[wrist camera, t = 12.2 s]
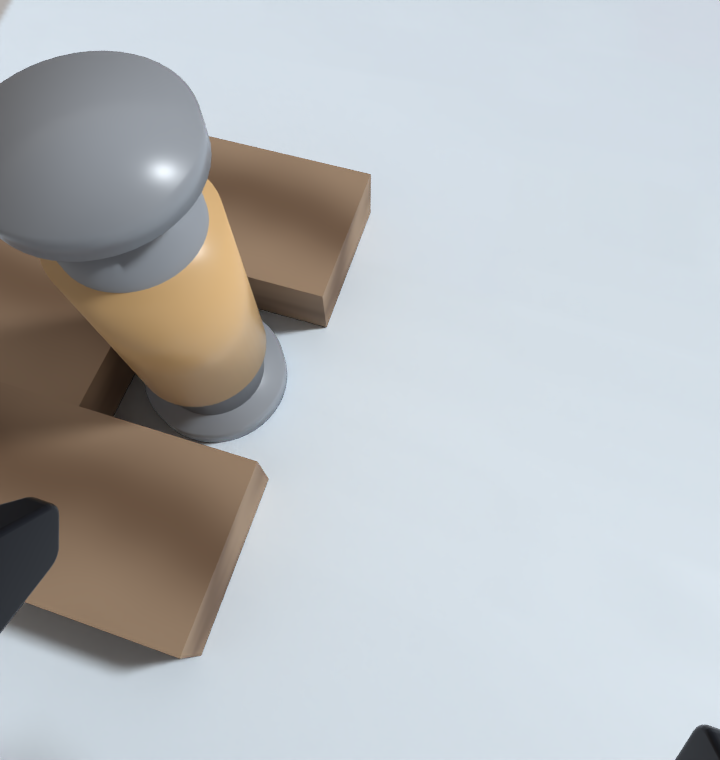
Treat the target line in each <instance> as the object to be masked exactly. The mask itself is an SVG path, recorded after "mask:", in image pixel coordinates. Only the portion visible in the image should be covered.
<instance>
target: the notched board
mask: <svg viewBox="0 0 720 760" xmlns="http://www.w3.org/2000/svg"><path fill="white" fill-rule="evenodd" d="M209 139H210V143H211V153H212V157H211V167H210V171H209V175H208V180H209V181H210V182H211V183H212V184H213V186H214V187H215V189H216V190H217V192H218V194H219V196H220V198H221V201H222V204H223V207H224V210H225V213H226V216H227V219H228V222H229V225H230V228H231V231H232V233H233V236H234V239H235V242H236V245H237V248H238V251H239V254H240V257H241V260H242V263H243V266H244V269H245V272H246V275H247V278H248V281H249V284H250V287H251V290H252V293H253V296H254V299H255V302H256V305H257V308H258V309H262V310H265V311H269V312H273V313H276V314H280V315H284V316H287V317H291V318H295V319H298V320H302V321H306V322H309V323H313V324H317V325H320V326H324V327H327V325H328V322H329V319H330V317H331V314H332V312H333V309H334V306H335V304H336V301H337V298H338V296H339V293H340V291H341V288H342V285H343V283H344V280H345V277H346V275H347V272H348V270H349V267H350V264H351V262H352V259H353V257H354V254H355V251H356V249H357V246H358V243H359V241H360V238H361V236H362V233H363V230H364V228H365V225H366V222H367V220H368V217H369V215H370V197H371V174H367V173H363V172H359V171H354V170H350V169H346V168H342V167H337V166H333V165H329V164H325V163H320V162H316V161H312V160H308V159H303V158H299V157H295V156H291V155H286V154H282V153H278V152H274V151H269V150H265V149H261V148H257V147H252V146H248V145H244V144H239V143H235V142H231V141H227V140H222V139H218V138H214V137H210V136H209ZM134 374H135V372H134V371H133V370H132V369H131V368H130V367H129V366H128V365H127V363H126V362H125V361H124V360H123V359H122V358H121V357H120V356H119V355H118V354H117V352H116V351H115V350H114V349H113V348H112V347H111V346H110V345H109V344H108V343H107V342H106V340H105V339H104V338H103V337H102V336H101V335H100V334H99V333H98V332H97V331H96V329H95V328H94V327H93V326H92V325H91V324H90V323H89V322H88V321H87V320H86V318H85V317H84V316H83V315H82V314H81V313H80V312H79V311H78V310H77V309H76V307H75V306H74V305H73V304H72V303H71V302H70V301H69V300H68V299H67V298H66V296H65V295H64V294H63V293H62V292H61V291H60V290H59V289H58V288H57V287H56V286H55V284H54V283H53V282H52V281H51V280H50V278H49V277H48V276H47V274H46V273H45V271H44V269H43V267H42V265H41V262H40V258H38V257H35V256H32V255H29V254H26V253H23V252H21V251H19V250H17V249H15V248H13V247H11V246H10V245H9V244H7V243H6V242H4V241H3V240H2V239H0V504H4V503H7V502H11V501H15V500H18V499H22V498H26V497H35V498H38V499H41V500H44V501H47V502H50V503H53V504H54V505H56V506H57V508H58V510H59V551H58V555H57V558H56V560H55V562H54V564H53V565H52V567H51V568H50V570H49V571H48V572H47V574H46V575H45V576H44V577H43V579H42V580H41V581H40V583H39V584H38V585H37V586H36V588H35V589H34V590H33V592H32V593H31V594H30V595H29V597H28V598H27V599H26V601H25V602H26V603H28V604H31V605H34V606H37V607H39V608H42V609H45V610H48V611H50V612H53V613H56V614H59V615H61V616H64V617H67V618H70V619H72V620H75V621H78V622H81V623H83V624H86V625H89V626H92V627H94V628H97V629H100V630H102V631H105V632H108V633H111V634H113V635H116V636H119V637H122V638H124V639H127V640H130V641H133V642H135V643H138V644H141V645H144V646H146V647H149V648H152V649H155V650H157V651H160V652H163V653H166V654H168V655H171V656H174V657H177V658H179V659H181V658H187V657H194V656H201V655H202V652H203V649H204V647H205V644H206V641H207V639H208V636H209V634H210V631H211V628H212V626H213V623H214V621H215V618H216V615H217V613H218V610H219V607H220V605H221V602H222V600H223V597H224V594H225V592H226V589H227V586H228V584H229V581H230V579H231V576H232V573H233V571H234V568H235V566H236V563H237V560H238V558H239V555H240V552H241V550H242V547H243V545H244V542H245V539H246V537H247V534H248V531H249V529H250V526H251V524H252V521H253V518H254V516H255V513H256V511H257V508H258V505H259V503H260V500H261V497H262V495H263V492H264V490H265V487H266V484H267V482H268V477H267V476H266V474H265V473H264V471H263V470H262V468H261V466H260V465H259V463H258V462H257V461H254V460H250V459H247V458H244V457H241V456H238V455H234V454H231V453H228V452H225V451H221V450H218V449H215V448H212V447H209V446H205V445H202V444H199V443H196V442H192V441H189V440H186V439H183V438H180V437H176V436H173V435H170V434H167V433H163V432H160V431H157V430H154V429H151V428H147V427H144V426H141V425H138V424H134V423H131V422H128V421H125V420H122V419H118V418H115V417H113V415H114V414H115V412H116V410H117V408H118V406H119V404H120V402H121V400H122V398H123V396H124V394H125V392H126V390H127V388H128V386H129V384H130V382H131V380H132V378H133V376H134Z"/></svg>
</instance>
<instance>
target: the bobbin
mask: <svg viewBox="0 0 720 760" xmlns="http://www.w3.org/2000/svg"><path fill="white" fill-rule="evenodd" d="M211 157H212V153H211V143H210V139H209V135H208V132H207V129H206V126H205V122H204V119H203V116H202V113H201V110H200V107H199V104H198V102H197V100H196V97H195V95H194V93H193V92H192V91H191V89H190V88H189V86H188V85H187V84H186V83H185V82H184V81H183V80H182V79H181V78H180V77H179V76H178V75H177V74H176V73H174V72H173V71H172V70H170V69H169V68H167V67H165V66H163V65H162V64H160V63H158V62H155V61H153V60H150V59H148V58H145V57H142V56H138V55H134V54H129V53H123V52H114V51H88V52H79V53H73V54H68V55H63V56H58V57H55V58H52V59H48V60H45V61H42V62H40V63H37V64H35V65H32V66H30V67H28V68H26V69H24V70H22V71H20V72H18V73H16V74H14V75H13V76H11V77H9V78H8V79H6V80H5V81H3V82H2V83H0V239H2V240H3V241H4V242H6V243H7V244H9V245H10V246H11V247H13V248H15V249H17V250H19V251H21V252H23V253H26V254H29V255H32V256H35V257H38V258H40V262H41V265H42V267H43V269H44V271H45V273H46V274H47V276H48V277H49V278H50V280H51V281H52V282H53V283H54V284H55V286H56V287H57V288H58V289H59V290H60V291H61V292H62V293H63V294H64V295H65V296H66V298H67V299H68V300H69V301H70V302H71V303H72V304H73V305H74V306H75V307H76V309H77V310H78V311H79V312H80V313H81V314H82V315H83V316H84V317H85V318H86V320H87V321H88V322H89V323H90V324H91V325H92V326H93V327H94V328H95V329H96V331H97V332H98V333H99V334H100V335H101V336H102V337H103V338H104V339H105V340H106V342H107V343H108V344H109V345H110V346H111V347H112V348H113V349H114V350H115V351H116V352H117V354H118V355H119V356H120V357H121V358H122V359H123V360H124V361H125V362H126V363H127V365H128V366H129V367H130V368H131V369H132V370H133V371H134V372H135V373H136V374H137V376H138V377H139V378H140V379H141V380H142V381H143V382H144V383H145V388H146V392H147V395H148V398H149V401H150V403H151V405H152V406H153V408H154V409H155V411H156V412H157V413H158V414H159V415H160V416H161V417H162V418H163V419H164V420H165V421H166V422H167V424H168V425H169V426H170V427H171V428H173V429H174V430H175V431H177V432H178V433H180V434H182V435H184V436H185V437H188V438H191V439H193V440H198V441H202V442H224V441H230V440H234V439H237V438H240V437H242V436H245V435H247V434H249V433H251V432H252V431H254V430H256V429H257V428H259V427H260V426H261V425H263V424H264V423H265V422H266V421H267V420H268V419H269V418H270V417H271V415H272V414H273V413H274V412H275V410H276V409H277V407H278V406H279V404H280V402H281V400H282V398H283V395H284V392H285V388H286V383H287V367H286V362H285V358H284V355H283V351H282V348H281V345H280V343H279V341H278V339H277V337H276V335H275V334H274V332H273V331H272V330H271V329H270V328H269V326H268V325H266V324H265V323H264V322H263V321H262V319H261V316H260V314H259V311H258V308H257V305H256V302H255V299H254V296H253V293H252V290H251V287H250V284H249V281H248V278H247V275H246V272H245V269H244V266H243V263H242V260H241V257H240V254H239V251H238V248H237V245H236V242H235V239H234V236H233V233H232V231H231V228H230V225H229V222H228V219H227V216H226V213H225V210H224V207H223V204H222V201H221V198H220V196H219V194H218V192H217V190H216V189H215V187H214V186H213V184H212V183H211V182H210V181H209V180H208V175H209V171H210V167H211Z"/></svg>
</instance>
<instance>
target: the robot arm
mask: <svg viewBox="0 0 720 760" xmlns="http://www.w3.org/2000/svg"><path fill="white" fill-rule="evenodd" d="M58 551H59V510H58V508H57V506H56V505H54V504H53V503H50V502H47V501H44V500H41V499H38V498H35V497H26V498H22V499H18V500H15V501H11V502H7V503H4V504H0V633H1V632H2V630H3V629H4V628H5V626H6V625H7V624H8V623H9V621H10V620H11V619H12V617H13V616H14V615H15V614H16V612H17V611H18V610H19V608H20V607H21V606H22V605H23V603H24V602H25V601H26V599H27V598H28V597H29V595H30V594H31V593H32V592H33V590H34V589H35V588H36V586H37V585H38V584H39V583H40V581H41V580H42V579H43V577H44V576H45V575H46V574H47V572H48V571H49V570H50V568H51V567H52V565H53V564H54V562H55V560H56V558H57V555H58ZM675 760H720V729H718V728H715V727H712V726H709V725H700V726H698V727H696V729H695V730H694V731H693V733H692V734H691V736H690V737H689V739H688V740H687V742H686V744H685V745H684V747H683V748H682V750H681V751H680V753H679V755H678V756H677V758H676V759H675Z"/></svg>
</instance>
